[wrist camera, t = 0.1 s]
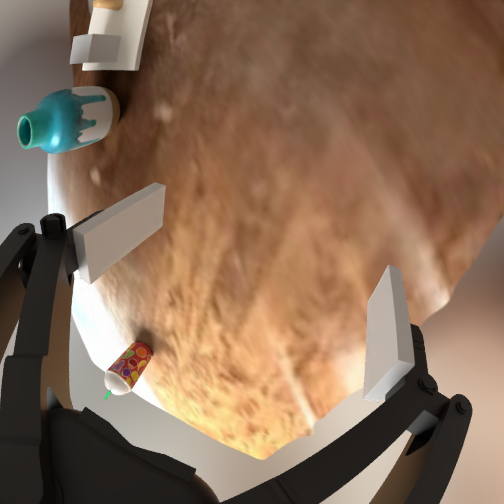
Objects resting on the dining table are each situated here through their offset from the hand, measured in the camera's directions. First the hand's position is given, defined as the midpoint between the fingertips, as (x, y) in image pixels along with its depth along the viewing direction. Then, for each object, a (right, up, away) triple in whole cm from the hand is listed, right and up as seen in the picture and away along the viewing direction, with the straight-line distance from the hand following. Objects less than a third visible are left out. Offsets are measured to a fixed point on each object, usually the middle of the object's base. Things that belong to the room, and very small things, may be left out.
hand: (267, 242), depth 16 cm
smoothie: (-32, -28, +62) cm, 75 cm away
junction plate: (-24, +40, +20) cm, 51 cm away
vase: (-27, +26, +30) cm, 48 cm away
